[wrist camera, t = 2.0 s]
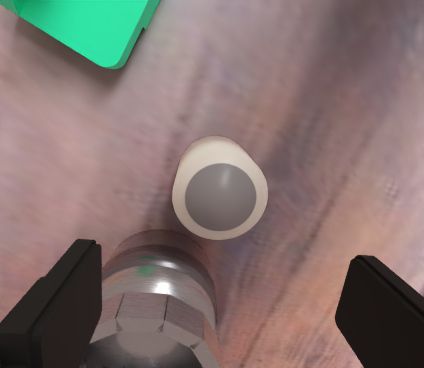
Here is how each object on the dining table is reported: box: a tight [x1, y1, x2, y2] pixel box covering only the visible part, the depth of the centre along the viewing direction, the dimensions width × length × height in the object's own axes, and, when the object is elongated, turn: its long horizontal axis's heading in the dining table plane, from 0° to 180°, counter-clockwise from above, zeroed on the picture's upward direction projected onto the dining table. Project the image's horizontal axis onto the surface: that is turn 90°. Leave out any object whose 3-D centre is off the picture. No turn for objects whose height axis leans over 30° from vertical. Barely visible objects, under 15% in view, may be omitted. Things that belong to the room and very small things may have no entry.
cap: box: [172, 136, 268, 240], centre depth 19 cm, size 6×6×6 cm
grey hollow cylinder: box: [79, 230, 222, 368], centre depth 20 cm, size 10×10×10 cm
